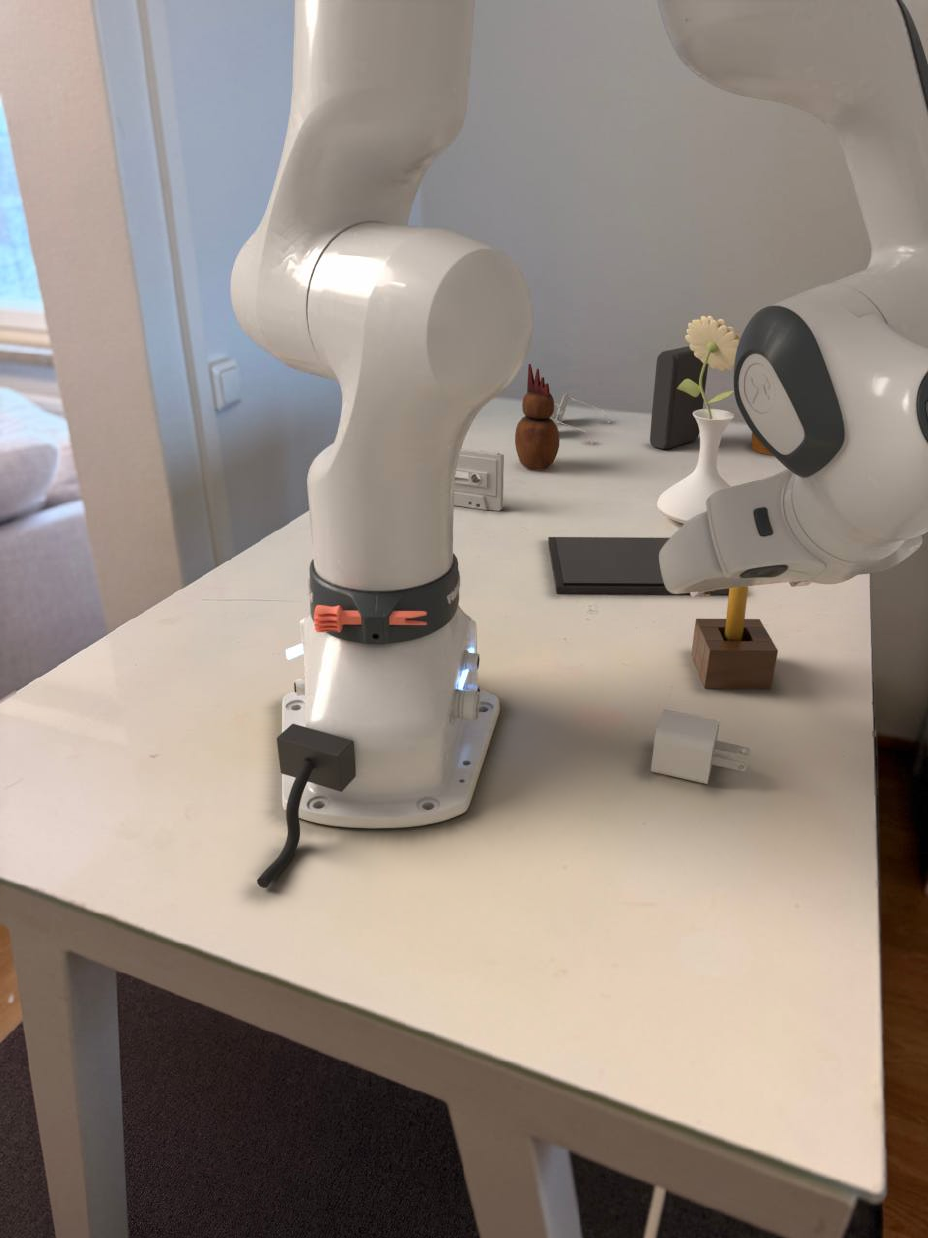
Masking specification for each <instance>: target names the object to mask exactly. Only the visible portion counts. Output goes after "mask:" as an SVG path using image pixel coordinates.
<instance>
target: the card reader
mask: <svg viewBox="0 0 928 1238" xmlns="http://www.w3.org/2000/svg"><path fill="white" fill-rule="evenodd" d="M689 346H690V345H687V346H683V347H677V348H673V349H669V350H663V351H661V352H660V354H658V355H657V359H656V366H655V373H654V374H655V376H654V387H653V397H652V406H651V407H652V408H651V418H650V419H651V420H650V432H649V442H650V445H651V447H654V448H658V449H662V450H669V449H672V448H676V447H679V446H682V445H685V444H688V443H692V442H695V441H696V440H697V439H698V437H700V431H699V426H698V423H697V421H696V419H695V417H694V416H693V412H694V411H696V410H700V409H704V404H705V402H704V399H703V397H702V394H701V392H700V394H699V395H698V396H697V397H693V396H692V395H690V394H688V393H686V392H684V391H682V390H679V389H677V388H678V386H679V385H680V384H681V383H682V382H683V381H684V380H685V379H690V380H692V381H693V382H695V383H696V384H697V385H699V378H700V374H701V370H702V367H703V364H704V363H702V361H701V360H700V359H699V358H697V357H696V356H695V355H694V351H692V350H691V349H690V347H689ZM708 370H709V363H708V364H706V367H705V370H704V373H703V377H702V387H703V391H704V394H705V392H706V386H707V380H708V379H707V378H708ZM705 395H706V394H705Z"/></svg>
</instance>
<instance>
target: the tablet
mask: <svg viewBox="0 0 928 1238" xmlns="http://www.w3.org/2000/svg"><path fill="white" fill-rule="evenodd" d="M670 538H671V537H639V536H637V537H635V536H634V537H633V536H632V537H630V536H629V537H628V536H627V537H622V536H621V537H619V536H618V537H617V536H615V537H614V536H613V537H611V536H610V537H609V536H607V537H606V536H595V537H594V536H548V538H547V544H548V550H549V555H550V562H551V568H552V575H553V581H554V588H555V593H556V594H557V595H560V594H562V595H563V594H565V595H566V594H567V595H568V594H569V595H570V594H571V595H573V594H574V595H575V594H576V595H577V594H578V595H581V594H582V595H597V594H598V595H674V594H673V593H671V592H669V591H668V590H667V589H666V587H665V585H664V582H663V578H662V574H661V570H660V564H659V552H660V550H661V548H662V547H663V546H664V544H665V543H666V542H667V541H668V540H669V539H670ZM680 595H690V592H689V593H681V594H680ZM710 595H711V596H713V595H714V596H715V595H717V596H718V595H721V596H726V595H727V596H729V588H727V589H718V590H715V591H714V592H713V593H711V594H710ZM710 595H709V596H710Z"/></svg>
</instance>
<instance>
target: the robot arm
mask: <svg viewBox="0 0 928 1238" xmlns="http://www.w3.org/2000/svg"><path fill="white" fill-rule="evenodd" d="M656 1H657V2H656V3H657V6H658V11H659V14H660V18H661V21H662V24H663V27H664V30H665V32H666V35H667V37H668V39H669V42H670V44H671V46H672V48H673V50H674V52H675V54H676V55H677V57H678V59H679V60H680V61H681V63H683V65H685V67H687V68H688V69H689V70H690V71H691V72H692V73H693V74H695V75H696V76H697V77H698V78H700V79H701V80H703V81H705V82H706V83H708V84H710V85H712V87H713V86H714V87H715V88H717V89H720V90H722V91H725V92H728V93H731V94H733V95H737V96H739V97H740V96H741V97H745V98H752V99H758V100H766V101H770V102H775V103H779V104H783V105H786V106H791V107H792V108H793V107H794V108H795V109H799V110H801V111H804V112H805V113H807V114H810V115H811V116H813V117H815V118H816V119H817V120H819V121H821V122H822V124H824V125H825V126H826V127H827V128H828V129H829V130H830V132H831V133H832V134H833V136H834V137H835V138H836V141H837V142H838V143H839V145H840V148H841V150H842V153H843V156H844V161H845V164H846V166H847V169H848V173H849V176H850V180H851V182H852V186H853V189H854V194H855V196H856V200H857V203H858V206H859V209H860V213H861V216H862V219H863V223H864V227H865V229H866V233H867V237H868V240H869V244H870V249H871V250H870V259H869V263H868V265H867V268H865V269H862V270H860V271H858V272H855V273H853V274H850V275H847V276H845V277H843V278H840V279H837V280H835V281H831V282H829V283H824V284H820V285H818V286H817V285H816V286H815V287H813V288H810V289H806V290H805V291H802V292H799V293H796V294H795V295H791V296H790V297H787V298H785V299H783V300H780V301H778V302H775V303H773V304H770V305H768V306H765V307H763V308H761V309H760V310H758V311H757V312H756V313H754V315H753V316H752V317H751V318H750V319H749V321H748V322H747V324H746V326H745V328H744V329H743V332H742V334H741V338H740V341H739V344H738V348H737V351H736V356H735V363H734V368H733V390H734V391H733V394H734V399H735V403H736V405H737V408H738V410H739V412H740V414H741V416H742V418H743V420H744V421H745V423H746V426H748V428H749V430H750V431H751V433H752V432H753V434H754V435H755V436H756V437H757V439H758V440H759V441H760V442H761V443H762V444H763V445H764V447H765V448H767V449H768V450H769V451H770V452H771V453H772V454H773V455H772V456H773V457H775V459H776V460H777V461H779V462H780V464H782V465H783V466H784V467H785V468H786V469H784V470H782V471H780V472H777V473H775V474H772V475H770V476H767V477H764V478H762V479H757V480H754V481H750V482H746V483H742V484H737V485H733V486H731V487H730V488H725V489H721V490H718V491H716V492H714V493H713V494H711V495H710V496H709V497H708V499H707V500H706V507H707V511H705V512H703V513H700V514H698V515H696V516H695V517H693V518H691V519H690V520H688V521H687V522H686V523H685V524H683V525H682V526H680V527H679V528H678V529H677V530H676V531H675V532H674V533H673V534H672V535H671V536H670V537H669V538H670V539H669V540H668V541H667V542H666V543H665V544H664V546H663V547H662V548H661V550H660V552H659V564H660V570H661V574H662V578H663V582H664V585H665V587H666V589H667V590H668V591H669V592H671V593H673V594H672V595H682V594H681V593H689V592H690V594H689V595H690V597H691V598H701V597H708V596H710V594H711V593H713V592H714V591H715V590H718V589H727V588H737V587H747V586H748V587H756V586H764V585H765V586H766V585H774V584H785V583H789V586H790V587H792V588H794V587H807V586H810V585H811V584H812V583H813V584H818V585H836V584H841V583H845V582H847V581H851V579H853V578H855V577H857V576H862V575H871V574H878V573H880V572H884V571H888V570H890V569H892V568H894V567H895V566H897V565H899V564H900V563H901V562H903V561H905V560H906V559H907V558H908V557H910V556H912V554H914V553H915V552H917V550H918V549H919V548H920V547H921V546H922V545H923V538H922V535H924V534H926V533H928V59H927V57H926V53H925V50H924V47H923V44H922V40H921V37H920V35H919V32H918V29H917V26H916V24H915V21H914V19H913V17H912V14H911V13H910V11H909V9H908V7H907V6H906V4H905V3H904V1H903V0H656ZM475 5H476V0H294V17H293V18H294V20H293V21H294V25H293V52H292V53H293V55H292V56H293V57H292V59H293V60H292V84H291V85H292V86H291V87H292V89H291V99H290V100H291V101H290V109H289V116H288V121H287V129H286V134H285V139H284V144H283V148H282V153H281V156H280V161H279V165H278V168H277V172H276V176H275V180H274V183H273V187H272V190H271V193H270V196H269V200H268V203H267V207H266V209H265V211H264V214H263V217H262V218H261V221H260V223H259V224H258V226H257V228H256V230H255V231H254V232H253V233H252V235H251V236H250V237H249V238H248V239H247V240H246V242H245V243H243V245H242V246H241V248H240V249H239V252H238V253H237V256H236V258H235V260H234V263H233V267H232V270H231V275H230V301H231V305H232V306H231V307H232V310H233V314H234V315H235V319H236V321H237V322H238V324H239V326H240V328H241V330H242V331H243V332H244V334H245V335H246V336H247V337H248V338H249V340H251V341H252V343H254V344H255V345H257V346H258V347H259V348H260V349H262V350H264V351H265V352H266V353H268V354H269V355H271V356H272V357H273V358H275V359H277V360H278V361H280V362H281V363H283V364H284V365H286V366H288V367H289V368H291V369H293V370H295V371H299V372H303V373H306V374H310V375H313V376H315V377H316V376H317V377H320V378H324V379H328V380H331V381H335V382H337V383H338V384H339V386H340V390H341V397H342V398H341V401H342V402H341V403H342V404H341V412H340V418H339V423H338V427H337V429H338V430H337V433H336V435H335V439H334V442H333V443H331V444H329V445H328V446H327V447H325V448H324V449H323V450H322V451H321V452H319V453H318V455H317V456H316V457H315V458H314V459H313V460H312V462H311V465H310V467H309V469H308V472H307V478H306V487H307V498H308V509H309V520H310V523H309V524H310V532H311V533H310V534H311V544H312V546H311V547H312V556H313V558H312V559H311V561H310V564H309V577H308V583H307V584H308V597H309V613H308V614H307V615H305V616H304V617H303V619H301V620H300V621H299V627H300V628H299V629H300V637H301V643H299V644H297V645H295V646H292V647H289V648H287V649H285V655H286V659H287V660H292V659H294V658H297V657H299V656H300V655H302V656H303V664H304V678H296V679H295V682H294V683H293V690H292V691H290V692H289V693H287V694H285V695H284V696H283V698H282V700H281V733H280V735H278V736H277V737H276V744H277V745H276V746H277V754H278V761H279V770H280V774H281V806H282V809H283V811H285V819H286V826H287V836H286V839H285V843H284V846H283V848H282V850H281V851H280V853H279V855H278V857H277V858H276V859H275V860H274V861H273V862H271V864H270V865H269V866H268V867H267V868H266V869H265V870H264V871H263V872H262V873H261V874H260V876H259V877H258V878H257V880H256V883H257V885H259V887H260V888H263V889H267V888H269V886H270V885H271V884H272V882H273V881H274V880H275V879H276V878H277V877H278V876H279V875H280V874H281V873H282V872H283V871H284V870H285V869H286V868H287V866H288V865H289V864H290V863H291V861H292V859H293V858H294V856H295V854H296V851H297V849H298V846H299V843H300V838H301V823H300V819H301V820H304V821H307V822H310V823H315V824H319V825H325V826H331V827H341V828H349V829H351V828H353V829H354V828H355V829H401V828H413V827H420V826H427V825H432V824H437V823H441V822H444V821H447V820H451V819H453V818H456V817H458V816H460V815H463V814H464V813H466V812H467V811H468V809H469V807H470V804H471V802H472V799H473V795H474V794H475V790H476V787H477V783H478V780H479V777H480V774H481V772H482V771H481V770H482V768H483V765H484V763H485V758H486V756H487V752H488V749H489V746H490V743H491V740H492V736H493V734H494V730H495V727H496V724H497V721H498V719H499V715H500V712H501V707H500V700H499V698H498V696H497V695H495V694H493V693H492V692H490V691H488V690H485V689H482V688H480V685H479V684H478V683H479V681H478V679H479V678H478V670H479V667H480V659H481V658H480V653H478V634H477V633H478V632H477V629H478V628H477V622H476V621H475V620H473V619H472V617H470V616H469V615H468V614H467V613H466V612H465V611H464V610H463V609H462V608H461V607H460V605H459V604H460V588H461V575H460V570H459V561H458V557H457V555H456V554H455V553H454V509H455V508H454V506H455V505H454V483H455V477H456V472H457V471H456V468H457V462H458V458H459V454H460V451H461V449H463V444H464V442H465V439H466V436H467V434H468V432H469V429H470V428H471V426H472V423H473V421H474V420H475V418H476V417H477V415H478V414H479V413H480V411H481V410H482V409H483V408H484V407H485V406H486V405H487V404H489V402H491V401H493V399H496V397H498V396H499V395H501V394H502V393H503V392H504V391H505V390H506V389H507V388H508V387H509V385H510V384H512V382H513V381H514V379H515V378H516V376H517V375H518V373H519V372H520V370H521V368H522V366H523V365H524V362H525V360H526V357H527V355H528V352H529V349H530V346H531V343H532V342H531V341H532V338H533V330H534V308H533V307H534V306H533V299H532V296H531V291H530V288H529V285H528V282H527V279H526V277H525V275H524V273H523V271H522V270H521V268H520V267H519V265H518V264H517V263H516V262H515V261H514V259H512V258H511V257H510V256H509V255H508V254H506V253H504V252H503V251H501V250H499V249H496V248H494V247H492V246H490V245H488V244H486V243H484V242H481V241H479V240H476V239H474V238H472V237H470V236H467V235H464V234H461V233H459V232H456V231H454V230H450V229H446V228H440V227H430V226H429V227H427V226H419V225H409V221H410V215H411V212H412V208H413V205H414V203H415V199H416V197H417V193H418V190H419V188H420V186H421V184H422V182H423V179H425V178H424V177H425V175H426V174H427V172H428V170H429V169H430V167H431V165H432V164H433V163H434V162H435V161H436V160H437V159H438V158H439V156H441V154H443V153H444V152H445V151H446V150H447V149H449V147H450V146H451V145H453V143H454V142H455V141H456V139H457V137H458V136H459V134H460V133H461V130H462V128H463V125H464V123H465V119H466V116H467V111H468V110H467V109H468V101H469V100H468V99H469V98H468V97H469V88H470V87H469V86H470V76H471V75H470V73H471V63H472V61H471V60H472V48H473V47H472V46H473V32H474V23H475V22H474V21H475V20H474V19H475V8H476V6H475Z"/></svg>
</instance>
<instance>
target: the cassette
mask: <svg viewBox="0 0 928 1238" xmlns="http://www.w3.org/2000/svg"><path fill="white" fill-rule="evenodd" d="M504 464H505V456H504V454H503V453H500V452H493V451H483V450H476V449H468V448H461V451H460V454H459V458H458V462H457V468H456V472H463V473H468V478H465V477H457V476H455V483H454V506H456V507H463V508H469V509H475V510H476V509H477V510H483V511H488V510H490V511H496V512H497V511H498V512H500V511H501V510H502V509H504V508H503V507H504V469H505V468H504V467H505V465H504ZM478 476H479V478H478Z"/></svg>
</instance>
